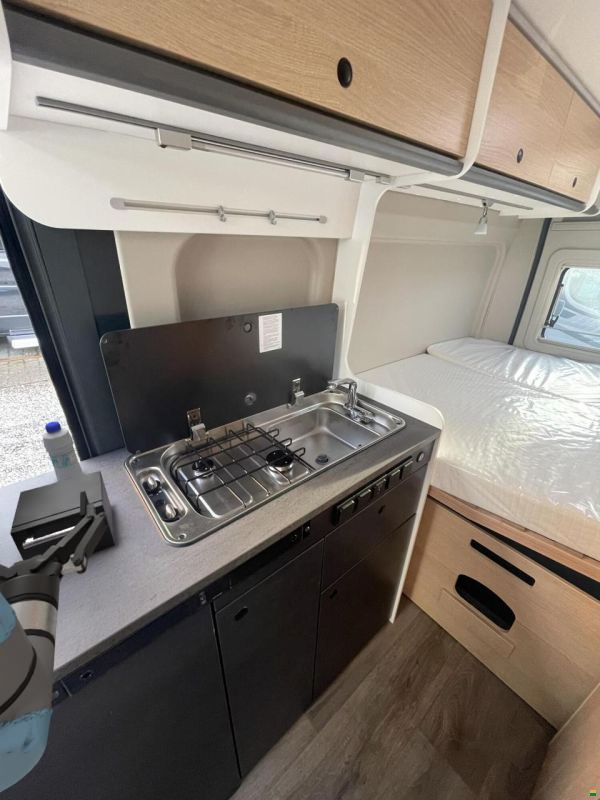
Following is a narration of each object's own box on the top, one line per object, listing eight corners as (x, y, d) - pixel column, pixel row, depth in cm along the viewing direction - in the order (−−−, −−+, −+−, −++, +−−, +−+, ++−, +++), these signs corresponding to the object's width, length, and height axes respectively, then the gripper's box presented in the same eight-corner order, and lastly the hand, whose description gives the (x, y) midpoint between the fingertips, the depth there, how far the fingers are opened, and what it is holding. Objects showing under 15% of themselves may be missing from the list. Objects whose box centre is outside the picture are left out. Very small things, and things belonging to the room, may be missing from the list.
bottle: (82, 485, 96) (63, 426, 88) (55, 490, 94) (33, 430, 86) (86, 471, 102) (68, 415, 94) (61, 476, 100) (40, 419, 91)
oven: (115, 541, 78) (102, 499, 73) (32, 571, 71) (11, 527, 65) (112, 509, 88) (100, 470, 82) (38, 533, 80) (20, 491, 75)
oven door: (116, 556, 75) (103, 513, 69) (29, 589, 67) (6, 544, 62) (115, 541, 78) (102, 500, 73) (32, 571, 71) (11, 528, 65)
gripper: (-110, 699, 36) (-50, 555, 52) (136, 592, 48) (123, 502, 64) (-149, 662, 33) (-71, 521, 49) (125, 556, 45) (114, 471, 61)
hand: (38, 510), depth 57 cm, fingers open, 13 cm apart
